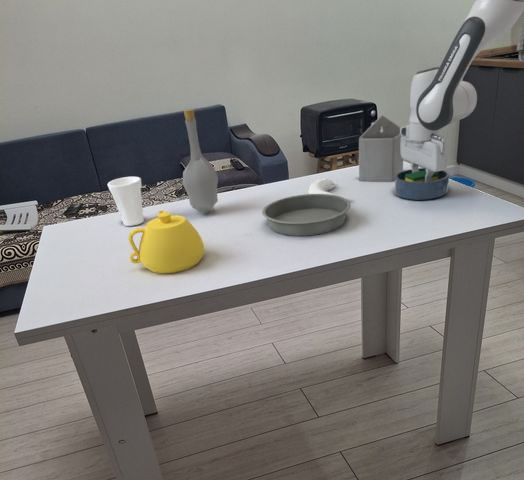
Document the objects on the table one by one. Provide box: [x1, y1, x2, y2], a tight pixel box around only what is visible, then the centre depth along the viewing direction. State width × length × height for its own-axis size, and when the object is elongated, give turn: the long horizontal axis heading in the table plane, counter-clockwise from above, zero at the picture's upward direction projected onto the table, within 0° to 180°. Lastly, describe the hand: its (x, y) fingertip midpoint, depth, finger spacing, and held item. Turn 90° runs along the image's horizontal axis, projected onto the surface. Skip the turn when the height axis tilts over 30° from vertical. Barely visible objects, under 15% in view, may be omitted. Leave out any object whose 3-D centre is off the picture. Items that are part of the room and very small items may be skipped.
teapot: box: [127, 210, 206, 274], centre depth 135 cm, size 20×19×13 cm
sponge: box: [405, 171, 438, 182], centre depth 161 cm, size 8×5×4 cm, turn 106°
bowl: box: [394, 167, 450, 201], centre depth 161 cm, size 15×15×6 cm
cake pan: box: [261, 193, 351, 237], centre depth 151 cm, size 25×25×4 cm
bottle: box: [182, 108, 219, 214], centre depth 160 cm, size 11×11×30 cm
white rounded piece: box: [307, 178, 347, 199], centre depth 168 cm, size 5×19×15 cm
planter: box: [358, 115, 404, 183], centre depth 174 cm, size 16×8×19 cm, turn 108°
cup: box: [107, 176, 145, 227], centre depth 163 cm, size 10×10×13 cm
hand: (421, 180), depth 161 cm, fingers closed on sponge, 5 cm apart
